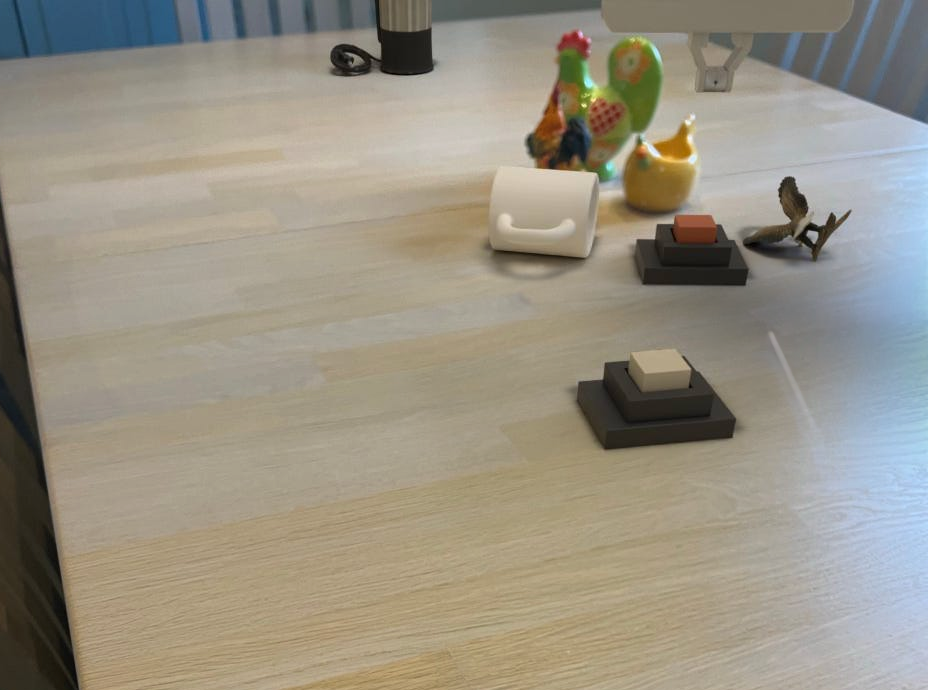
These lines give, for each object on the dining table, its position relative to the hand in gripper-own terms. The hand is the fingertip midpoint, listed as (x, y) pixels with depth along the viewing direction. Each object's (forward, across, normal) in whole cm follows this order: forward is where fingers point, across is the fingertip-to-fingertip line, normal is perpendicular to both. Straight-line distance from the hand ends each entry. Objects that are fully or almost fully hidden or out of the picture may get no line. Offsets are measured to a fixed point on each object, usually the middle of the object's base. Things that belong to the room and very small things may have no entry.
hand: (712, 91), depth 87 cm
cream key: (+14, -6, -27) cm, 31 cm away
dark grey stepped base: (+17, +1, +4) cm, 18 cm away
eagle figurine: (+17, +12, +10) cm, 23 cm away
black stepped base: (+17, -6, -27) cm, 32 cm away
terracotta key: (+14, +1, +4) cm, 15 cm away
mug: (+17, -14, +8) cm, 23 cm away
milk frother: (+18, -36, +94) cm, 102 cm away
